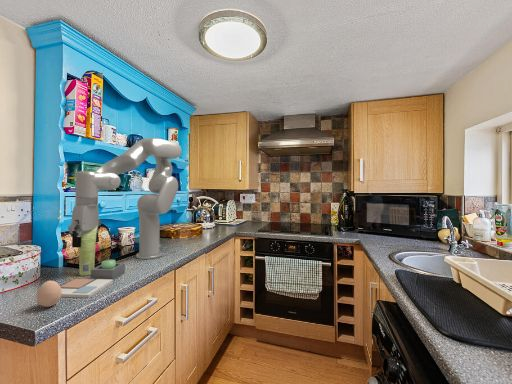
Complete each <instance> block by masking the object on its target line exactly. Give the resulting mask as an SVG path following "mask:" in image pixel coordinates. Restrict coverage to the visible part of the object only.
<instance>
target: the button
mask: <svg viewBox="0 0 512 384" xmlns="http://www.w3.org/2000/svg"><path fill="white" fill-rule="evenodd" d="M116 263H117V262H116V259H105V260H103V261H101V265H102V269H113V268H114V267H116Z"/></svg>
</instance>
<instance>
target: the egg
mask: <svg viewBox="0 0 512 384" xmlns="http://www.w3.org/2000/svg"><path fill="white" fill-rule="evenodd" d="M60 286H61V285H60V284H59V283H58V282H56V281H54V280H47V281H45V282H44V283H42V284H41V286H40V287H39V289H38V291H37V292H36V302H37V303H38V304H39V305H40V306H41V307H44V308H50V307H52V306H54V305H55V304H57V303H58V302H59V301H60V300H61V298H62V297H61V293H62V291H61V287H60Z"/></svg>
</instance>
